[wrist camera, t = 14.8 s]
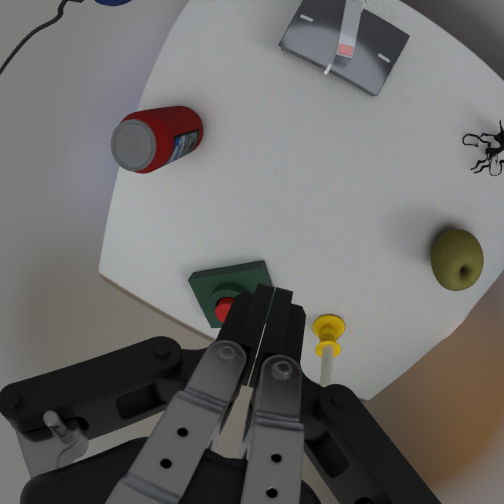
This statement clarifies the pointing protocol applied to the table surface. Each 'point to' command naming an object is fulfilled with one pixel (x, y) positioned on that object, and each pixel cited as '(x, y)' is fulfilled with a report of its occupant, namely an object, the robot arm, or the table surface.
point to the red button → (223, 308)
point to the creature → (490, 149)
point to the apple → (457, 259)
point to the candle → (328, 344)
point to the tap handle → (348, 31)
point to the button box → (226, 286)
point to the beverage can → (155, 138)
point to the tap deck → (326, 36)
